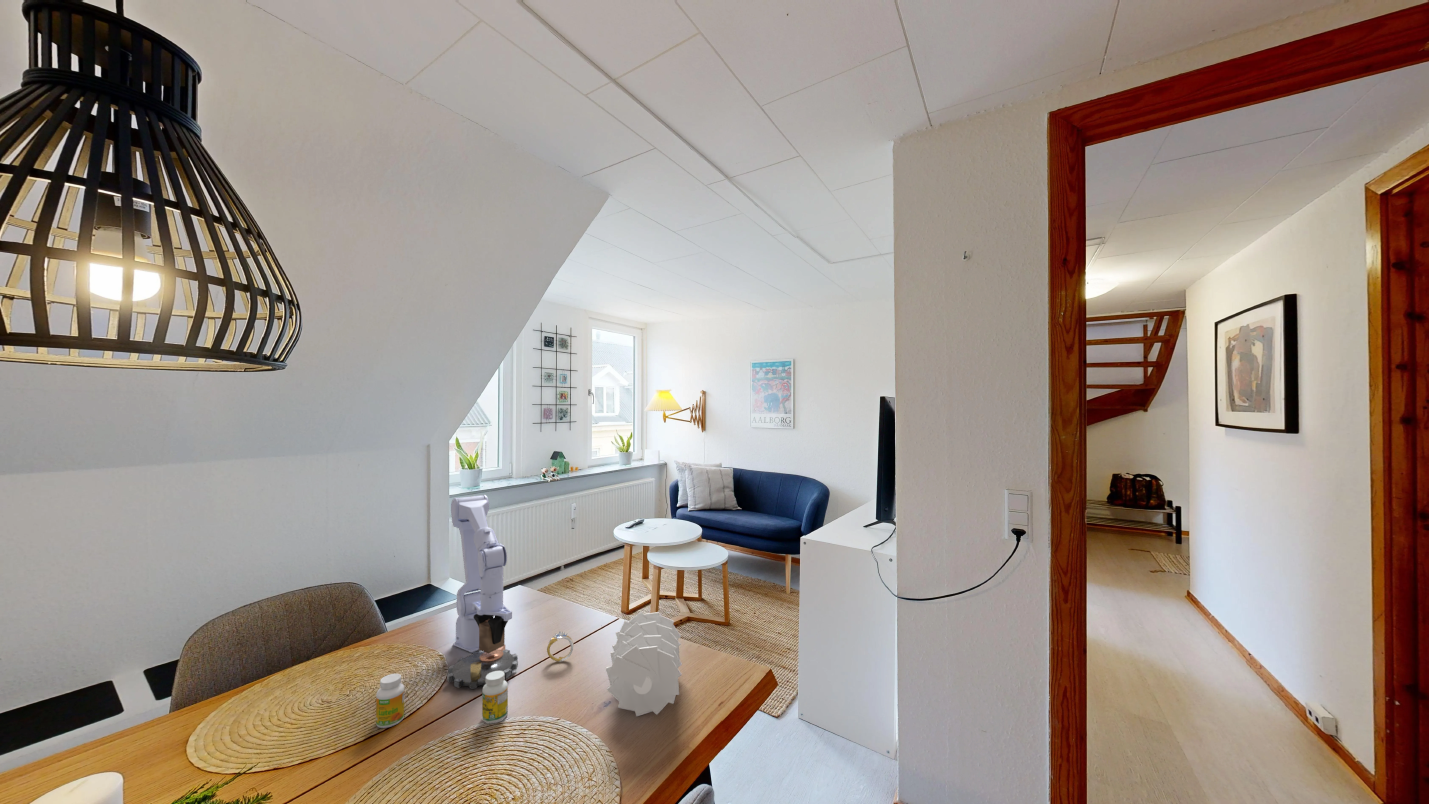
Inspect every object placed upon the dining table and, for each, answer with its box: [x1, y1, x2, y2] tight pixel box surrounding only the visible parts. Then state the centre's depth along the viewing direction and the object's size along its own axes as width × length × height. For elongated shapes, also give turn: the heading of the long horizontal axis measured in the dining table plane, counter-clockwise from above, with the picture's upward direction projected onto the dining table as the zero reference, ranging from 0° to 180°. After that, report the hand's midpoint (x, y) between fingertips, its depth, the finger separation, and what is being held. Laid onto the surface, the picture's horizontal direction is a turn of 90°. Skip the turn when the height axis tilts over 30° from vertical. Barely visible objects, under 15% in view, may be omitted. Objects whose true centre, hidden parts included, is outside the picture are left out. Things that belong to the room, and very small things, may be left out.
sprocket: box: [446, 648, 519, 690], centre depth 132 cm, size 17×17×5 cm
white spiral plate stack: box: [605, 611, 683, 717], centre depth 123 cm, size 18×18×25 cm
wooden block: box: [478, 619, 506, 653], centre depth 136 cm, size 4×5×7 cm
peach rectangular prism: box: [496, 644, 506, 651], centre depth 142 cm, size 3×1×2 cm, turn 0°
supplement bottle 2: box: [481, 671, 509, 724], centre depth 114 cm, size 5×5×10 cm
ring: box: [546, 630, 575, 663], centre depth 138 cm, size 7×3×8 cm, turn 98°
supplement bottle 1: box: [375, 673, 405, 729], centre depth 112 cm, size 5×5×10 cm
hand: (491, 640), depth 136 cm, fingers closed on wooden block, 4 cm apart
